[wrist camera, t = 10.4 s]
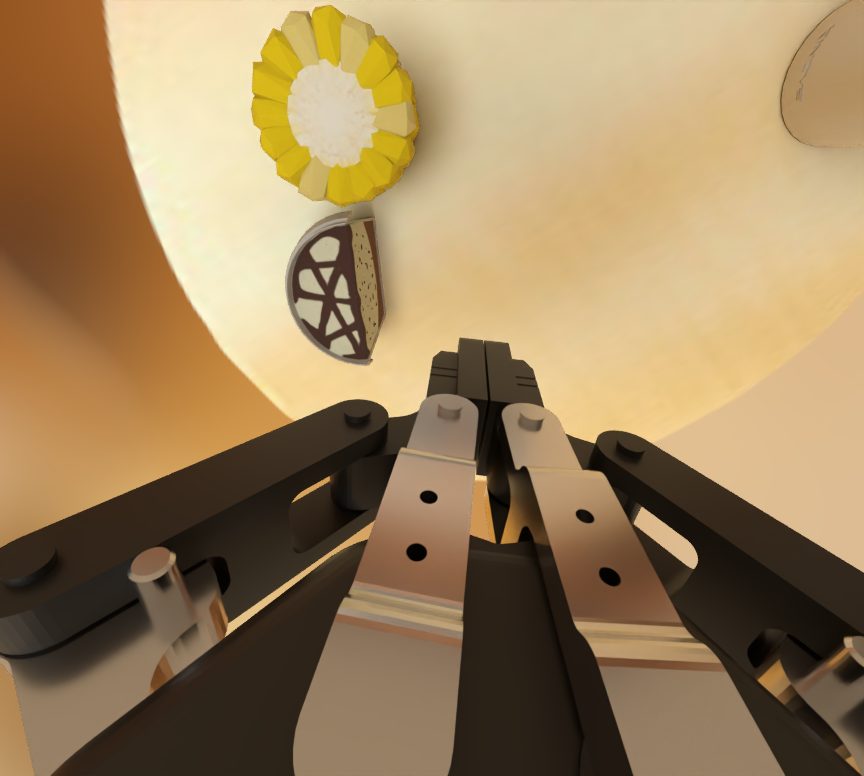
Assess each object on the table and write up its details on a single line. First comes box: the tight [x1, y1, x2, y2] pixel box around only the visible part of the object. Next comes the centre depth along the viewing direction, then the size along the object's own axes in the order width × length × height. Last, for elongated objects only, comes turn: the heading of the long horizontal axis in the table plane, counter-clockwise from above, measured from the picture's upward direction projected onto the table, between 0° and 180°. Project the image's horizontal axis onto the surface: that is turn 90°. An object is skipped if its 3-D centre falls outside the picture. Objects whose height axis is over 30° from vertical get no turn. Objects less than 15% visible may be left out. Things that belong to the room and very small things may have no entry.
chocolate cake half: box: [285, 211, 386, 366], centre depth 36 cm, size 12×6×10 cm, turn 3°
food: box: [251, 5, 420, 207], centre depth 28 cm, size 15×12×10 cm
